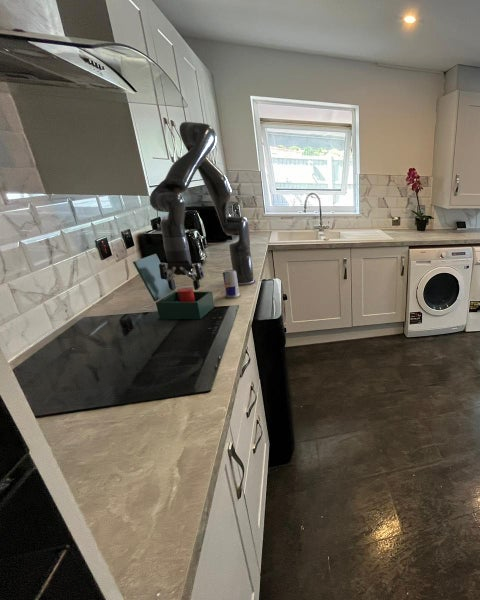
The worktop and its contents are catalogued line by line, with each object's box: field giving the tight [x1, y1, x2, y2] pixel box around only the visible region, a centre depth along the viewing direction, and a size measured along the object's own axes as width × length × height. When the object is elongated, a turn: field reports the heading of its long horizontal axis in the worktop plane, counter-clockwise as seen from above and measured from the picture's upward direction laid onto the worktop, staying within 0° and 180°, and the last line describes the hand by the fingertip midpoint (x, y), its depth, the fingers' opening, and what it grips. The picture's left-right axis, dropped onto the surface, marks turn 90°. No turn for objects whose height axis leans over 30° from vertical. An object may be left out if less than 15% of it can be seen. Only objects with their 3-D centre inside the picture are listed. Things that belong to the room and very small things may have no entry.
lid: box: [132, 253, 176, 302], centre depth 122 cm, size 16×13×1 cm
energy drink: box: [222, 269, 240, 299], centre depth 145 cm, size 5×5×12 cm
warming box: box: [155, 290, 216, 320], centre depth 127 cm, size 15×13×7 cm
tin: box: [177, 287, 195, 302], centre depth 127 cm, size 5×5×9 cm
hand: (185, 289), depth 125 cm, fingers open, 8 cm apart
